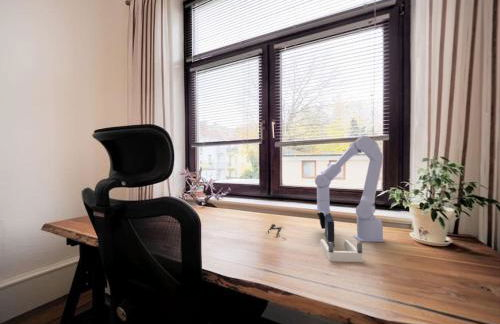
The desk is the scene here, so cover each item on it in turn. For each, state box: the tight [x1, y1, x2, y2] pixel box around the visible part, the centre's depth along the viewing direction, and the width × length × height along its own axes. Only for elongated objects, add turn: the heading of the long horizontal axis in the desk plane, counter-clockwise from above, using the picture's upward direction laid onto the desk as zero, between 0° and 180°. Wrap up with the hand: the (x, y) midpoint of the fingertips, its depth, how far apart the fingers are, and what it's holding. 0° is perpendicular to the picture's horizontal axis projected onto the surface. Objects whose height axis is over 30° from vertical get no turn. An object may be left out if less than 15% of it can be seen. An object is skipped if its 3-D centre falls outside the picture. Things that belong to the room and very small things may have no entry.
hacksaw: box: [266, 223, 287, 241], centre depth 111 cm, size 24×10×2 cm, turn 164°
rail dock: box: [320, 239, 363, 263], centre depth 83 cm, size 11×15×6 cm
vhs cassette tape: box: [324, 212, 335, 248], centre depth 98 cm, size 18×3×10 cm, turn 164°
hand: (323, 228), depth 110 cm, fingers closed
